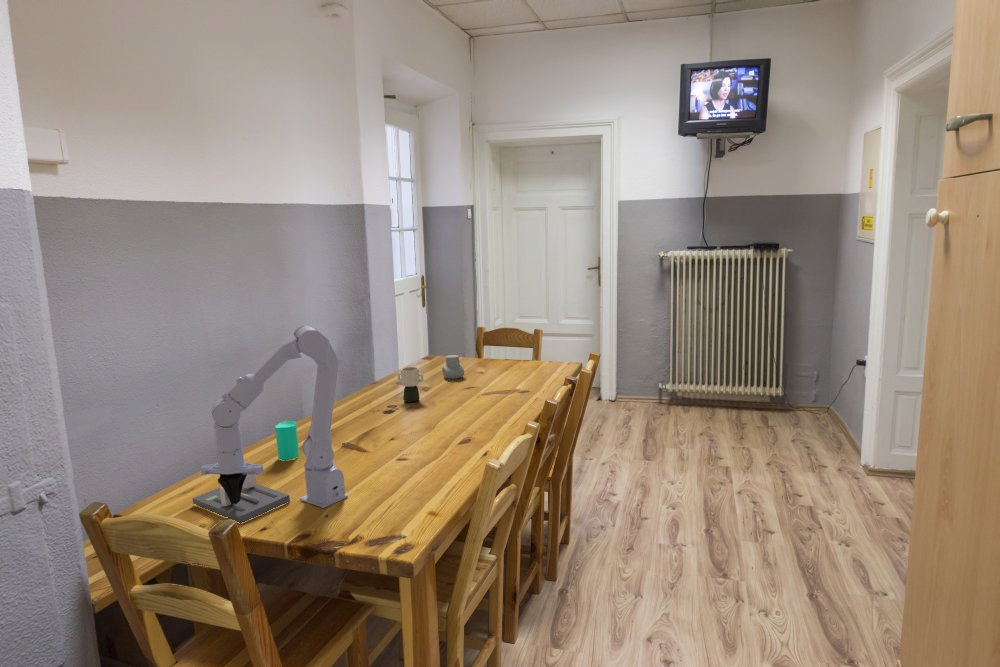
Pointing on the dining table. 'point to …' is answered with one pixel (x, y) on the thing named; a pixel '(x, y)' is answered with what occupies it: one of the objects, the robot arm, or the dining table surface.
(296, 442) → the candle
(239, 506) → the slider control panel
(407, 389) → the character mug
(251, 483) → the breaker
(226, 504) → the block
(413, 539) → the dining table surface
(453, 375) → the air freshener
